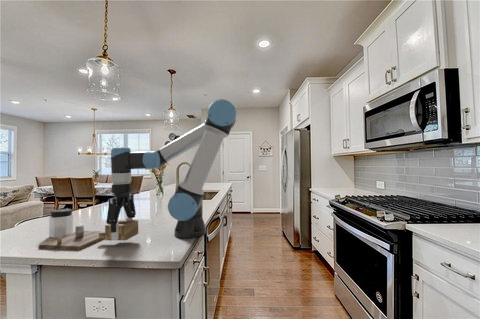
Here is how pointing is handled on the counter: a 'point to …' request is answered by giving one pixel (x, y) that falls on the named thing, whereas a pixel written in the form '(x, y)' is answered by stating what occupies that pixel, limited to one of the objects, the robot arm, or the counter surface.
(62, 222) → the jar
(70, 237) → the jig
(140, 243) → the counter surface
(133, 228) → the wooden square frame
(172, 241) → the counter surface
